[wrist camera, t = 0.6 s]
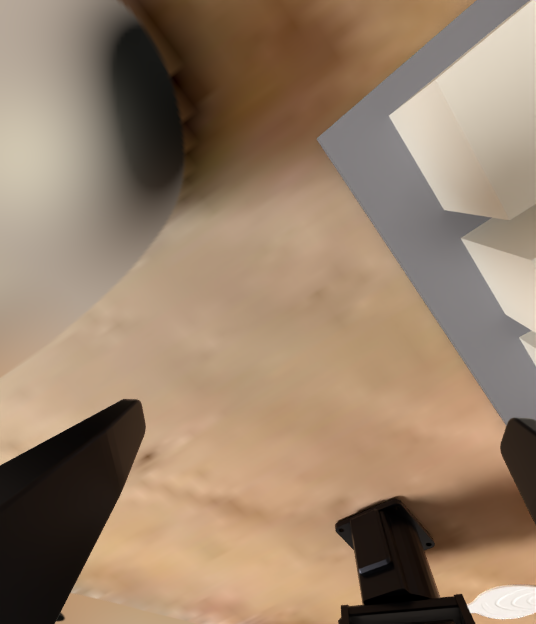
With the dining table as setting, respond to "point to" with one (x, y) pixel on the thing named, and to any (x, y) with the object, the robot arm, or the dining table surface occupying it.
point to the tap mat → (435, 217)
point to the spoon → (505, 602)
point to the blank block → (508, 263)
